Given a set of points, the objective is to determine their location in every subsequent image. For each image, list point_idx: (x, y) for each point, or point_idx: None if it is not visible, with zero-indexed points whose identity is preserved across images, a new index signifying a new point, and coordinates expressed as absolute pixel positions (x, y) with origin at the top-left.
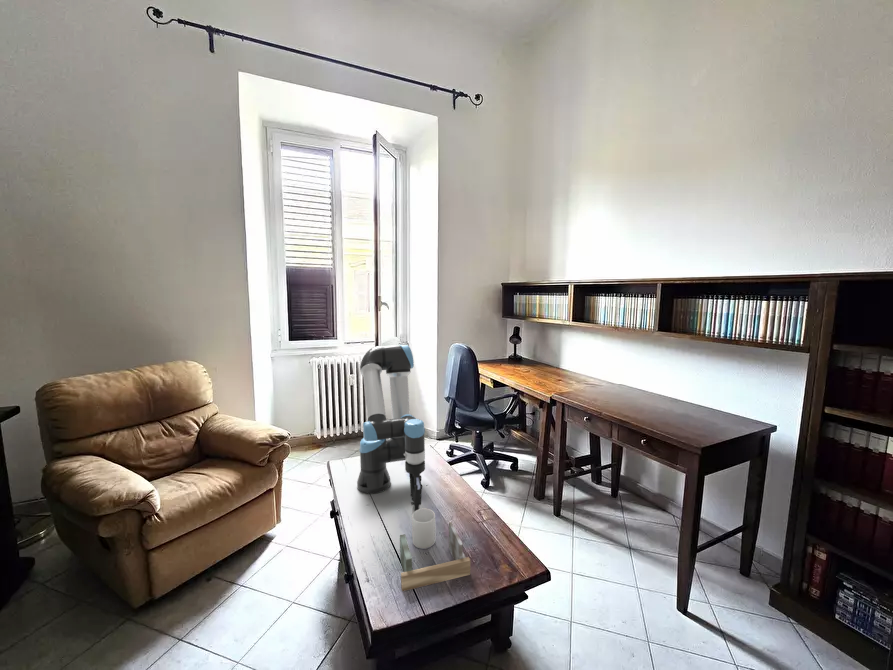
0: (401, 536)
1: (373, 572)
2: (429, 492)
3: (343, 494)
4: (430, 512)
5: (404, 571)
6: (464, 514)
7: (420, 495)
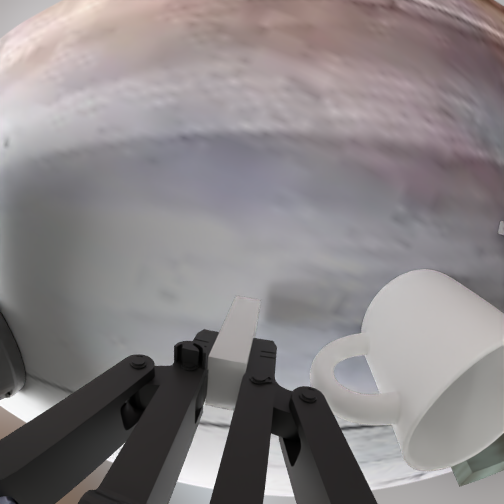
0: (469, 481)
1: (409, 469)
2: (43, 142)
3: None
4: (471, 347)
5: None
6: (305, 19)
7: (363, 492)
